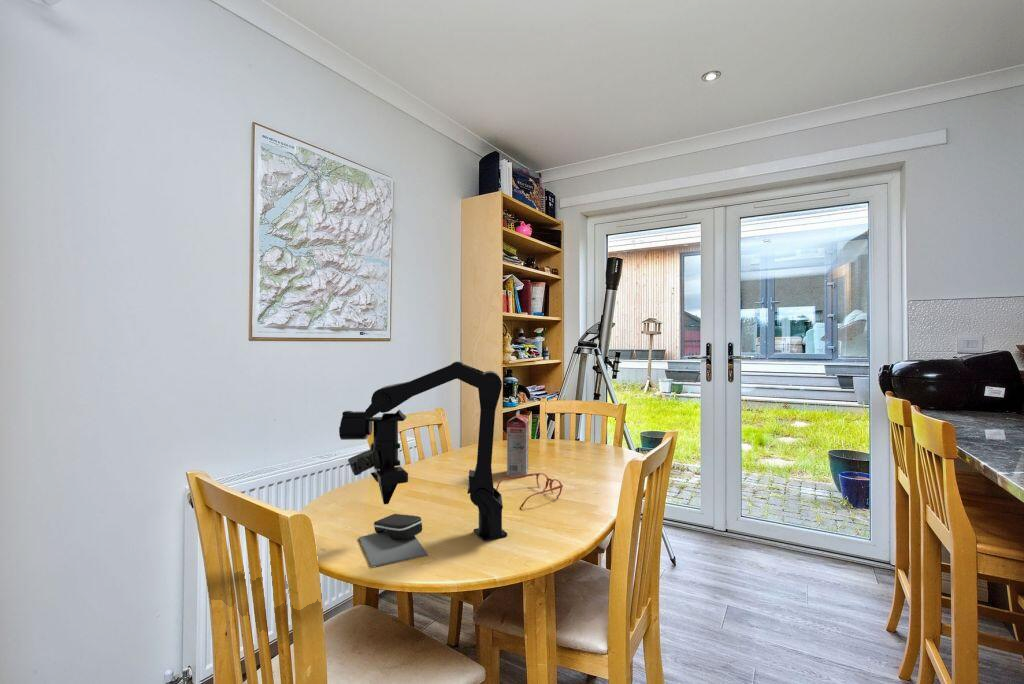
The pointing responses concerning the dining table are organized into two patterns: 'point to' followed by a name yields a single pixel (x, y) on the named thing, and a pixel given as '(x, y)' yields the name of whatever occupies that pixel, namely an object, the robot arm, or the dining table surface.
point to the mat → (390, 549)
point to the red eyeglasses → (538, 484)
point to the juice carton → (517, 445)
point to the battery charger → (399, 526)
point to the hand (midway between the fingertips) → (385, 503)
